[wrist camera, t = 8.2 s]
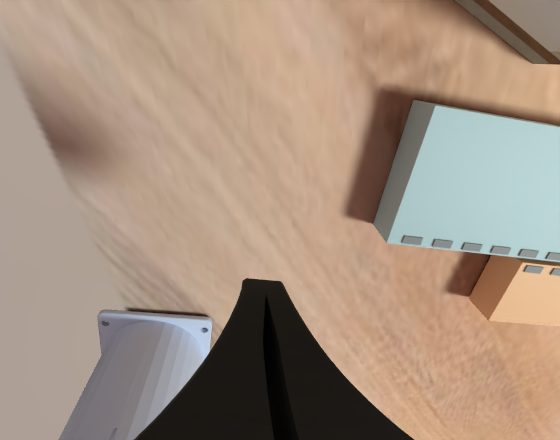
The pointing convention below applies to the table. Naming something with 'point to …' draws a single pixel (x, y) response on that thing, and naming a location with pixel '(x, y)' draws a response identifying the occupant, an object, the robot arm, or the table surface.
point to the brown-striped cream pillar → (522, 25)
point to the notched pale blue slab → (474, 184)
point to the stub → (519, 291)
